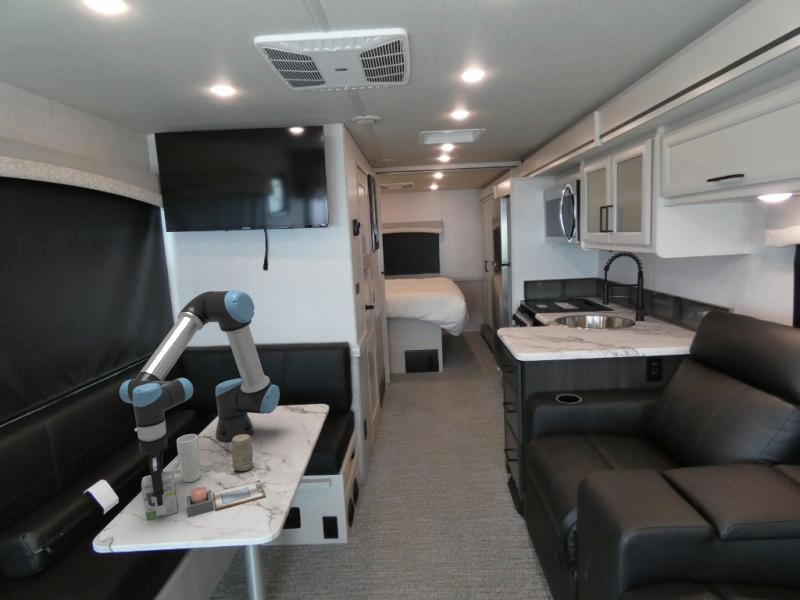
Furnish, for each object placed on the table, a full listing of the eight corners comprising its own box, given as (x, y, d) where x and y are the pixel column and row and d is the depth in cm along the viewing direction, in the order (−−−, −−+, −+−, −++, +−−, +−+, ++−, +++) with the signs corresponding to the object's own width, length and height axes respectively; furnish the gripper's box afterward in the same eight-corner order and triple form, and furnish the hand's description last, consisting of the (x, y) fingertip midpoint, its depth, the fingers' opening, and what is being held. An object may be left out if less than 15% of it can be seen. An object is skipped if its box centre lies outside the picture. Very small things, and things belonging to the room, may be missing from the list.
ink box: (178, 504, 146) (173, 469, 145) (177, 513, 142) (173, 476, 140) (147, 512, 143) (142, 476, 142) (145, 521, 138) (140, 484, 137)
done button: (191, 501, 145) (190, 489, 145) (206, 497, 147) (205, 485, 146) (192, 508, 141) (190, 496, 141) (207, 504, 143) (206, 492, 142)
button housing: (187, 505, 146) (186, 496, 145) (211, 499, 149) (210, 490, 148) (188, 516, 140) (187, 507, 139) (213, 510, 143) (212, 500, 142)
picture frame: (212, 494, 152) (212, 490, 152) (259, 481, 158) (259, 478, 158) (215, 511, 142) (215, 507, 142) (265, 497, 148) (265, 493, 148)
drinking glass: (206, 475, 164) (202, 434, 162) (192, 485, 158) (187, 443, 156) (191, 473, 167) (186, 432, 165) (176, 482, 160) (171, 441, 158)
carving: (258, 465, 170) (255, 433, 168) (243, 475, 163) (239, 442, 162) (244, 462, 173) (241, 431, 171) (229, 472, 166) (225, 440, 164)
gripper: (139, 428, 146) (149, 498, 149) (136, 451, 129) (146, 529, 132) (166, 423, 149) (175, 491, 152) (166, 444, 133) (175, 520, 136)
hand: (161, 508), depth 142 cm, fingers closed on ink box, 5 cm apart
